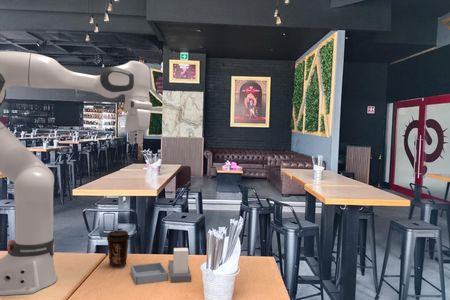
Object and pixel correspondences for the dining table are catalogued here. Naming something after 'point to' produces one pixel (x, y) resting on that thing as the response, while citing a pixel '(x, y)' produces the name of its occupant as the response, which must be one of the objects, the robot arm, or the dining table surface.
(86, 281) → the dining table surface
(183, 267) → the charger
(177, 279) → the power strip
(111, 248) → the coffee cup
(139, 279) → the tray
